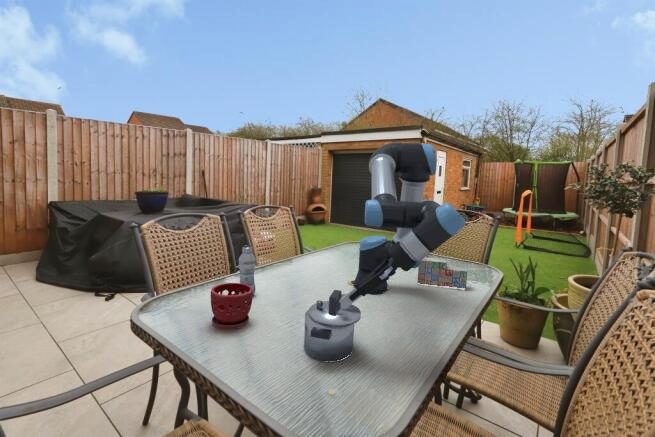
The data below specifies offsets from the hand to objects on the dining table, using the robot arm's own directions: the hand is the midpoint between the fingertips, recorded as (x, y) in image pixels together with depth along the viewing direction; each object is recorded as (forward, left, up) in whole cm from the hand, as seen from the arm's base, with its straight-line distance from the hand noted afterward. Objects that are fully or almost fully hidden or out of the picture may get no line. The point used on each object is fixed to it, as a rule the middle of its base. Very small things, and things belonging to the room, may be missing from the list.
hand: (342, 304), depth 89 cm
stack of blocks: (-73, -29, -14) cm, 80 cm away
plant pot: (+23, -30, -14) cm, 40 cm away
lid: (+1, -2, -4) cm, 4 cm away
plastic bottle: (+12, -52, -14) cm, 55 cm away
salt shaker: (-12, -18, -14) cm, 26 cm away
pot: (+2, -3, -14) cm, 14 cm away
